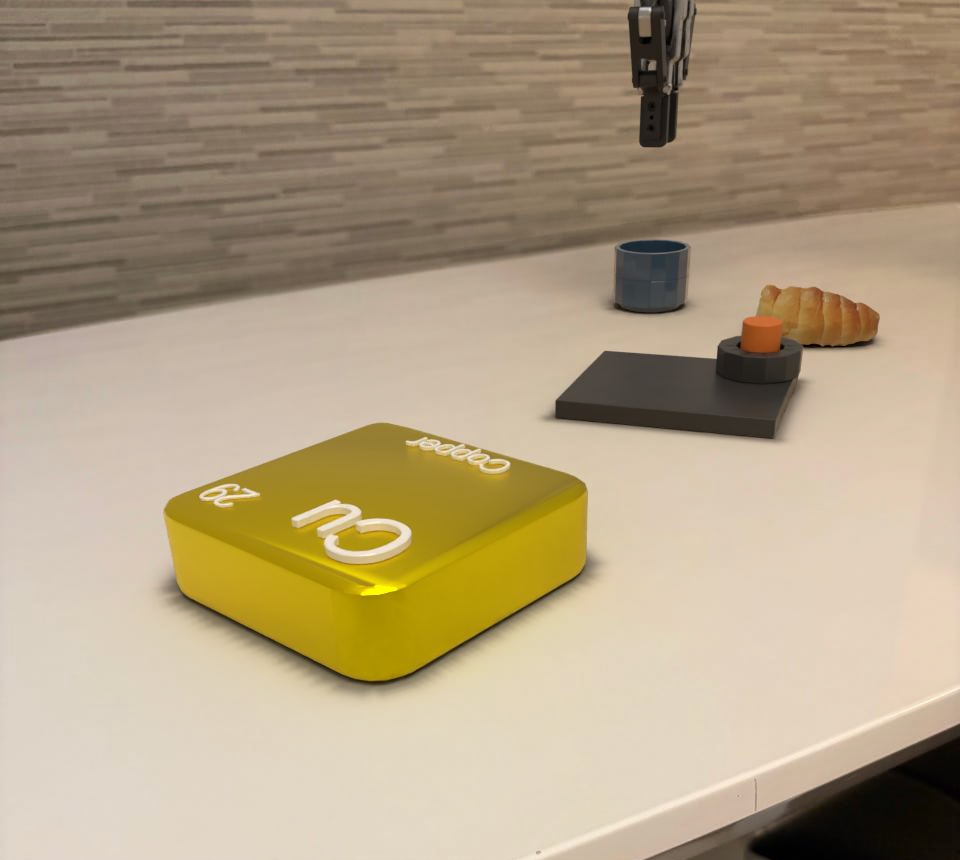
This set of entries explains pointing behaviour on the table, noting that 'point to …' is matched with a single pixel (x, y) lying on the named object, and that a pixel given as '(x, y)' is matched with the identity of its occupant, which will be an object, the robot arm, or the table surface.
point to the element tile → (378, 546)
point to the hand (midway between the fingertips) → (657, 143)
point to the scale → (688, 390)
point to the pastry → (818, 316)
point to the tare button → (761, 334)
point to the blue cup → (651, 275)
